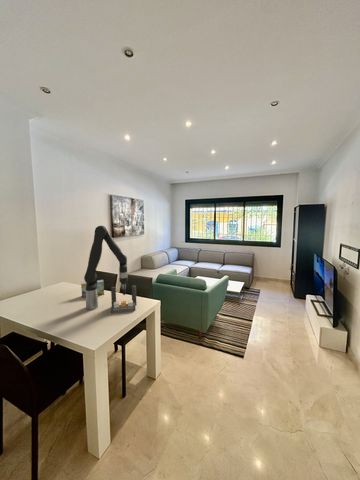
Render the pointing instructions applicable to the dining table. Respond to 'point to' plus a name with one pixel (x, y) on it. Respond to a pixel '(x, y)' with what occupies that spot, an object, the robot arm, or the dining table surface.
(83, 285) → the snack box
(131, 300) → the paddle
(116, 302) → the paddle
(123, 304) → the paddle
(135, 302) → the post
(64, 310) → the dining table surface
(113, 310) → the breaker strip
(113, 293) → the post
